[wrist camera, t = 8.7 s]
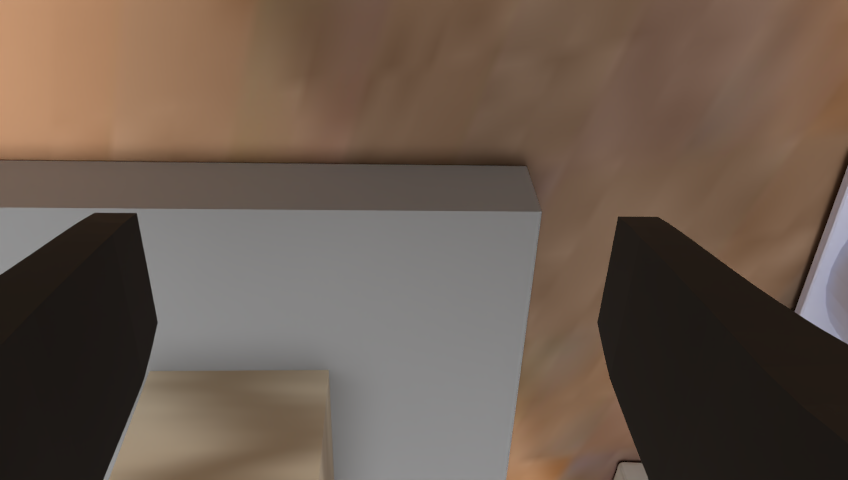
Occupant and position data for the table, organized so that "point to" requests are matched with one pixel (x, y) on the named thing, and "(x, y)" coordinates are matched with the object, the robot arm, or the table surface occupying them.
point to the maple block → (230, 427)
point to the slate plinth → (327, 289)
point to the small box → (630, 471)
